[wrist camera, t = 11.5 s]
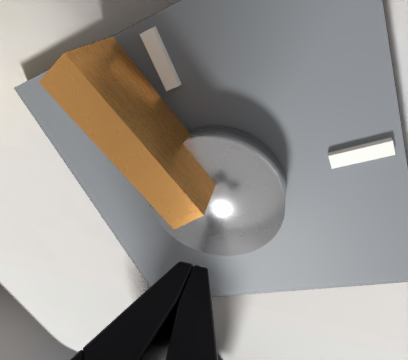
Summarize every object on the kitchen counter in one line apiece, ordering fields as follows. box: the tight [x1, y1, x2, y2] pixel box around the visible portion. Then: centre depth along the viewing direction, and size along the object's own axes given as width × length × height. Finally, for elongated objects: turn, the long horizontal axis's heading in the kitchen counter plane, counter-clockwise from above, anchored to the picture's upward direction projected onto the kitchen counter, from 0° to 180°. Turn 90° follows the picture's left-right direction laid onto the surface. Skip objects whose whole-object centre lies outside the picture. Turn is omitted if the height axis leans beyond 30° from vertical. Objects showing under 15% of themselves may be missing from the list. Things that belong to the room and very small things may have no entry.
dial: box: [39, 36, 286, 256], centre depth 17 cm, size 14×8×5 cm, turn 38°
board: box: [14, 0, 408, 297], centre depth 20 cm, size 20×20×2 cm
